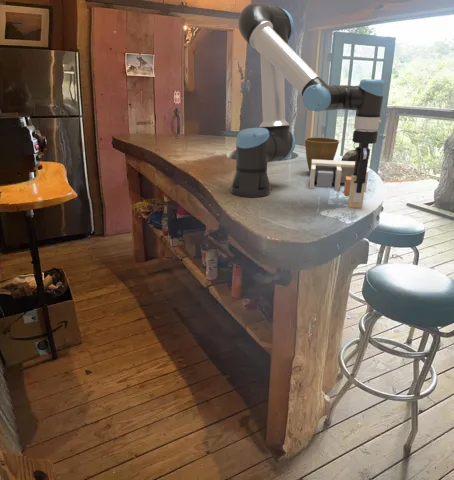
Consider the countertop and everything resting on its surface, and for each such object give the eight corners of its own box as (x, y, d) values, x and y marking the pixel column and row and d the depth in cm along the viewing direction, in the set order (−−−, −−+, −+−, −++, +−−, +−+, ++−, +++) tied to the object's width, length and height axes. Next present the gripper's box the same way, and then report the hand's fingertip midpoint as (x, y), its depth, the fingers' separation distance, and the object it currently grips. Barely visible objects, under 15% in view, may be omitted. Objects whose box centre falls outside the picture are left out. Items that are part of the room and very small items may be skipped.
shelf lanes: (309, 188, 161) (311, 166, 158) (309, 179, 175) (311, 159, 172) (365, 192, 157) (369, 169, 154) (361, 183, 171) (364, 161, 168)
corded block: (346, 206, 139) (349, 177, 135) (343, 191, 158) (347, 166, 154) (364, 207, 137) (368, 179, 134) (359, 192, 157) (363, 166, 153)
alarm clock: (359, 175, 185) (364, 139, 179) (366, 178, 180) (371, 141, 174) (338, 176, 183) (342, 140, 177) (344, 179, 178) (349, 141, 172)
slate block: (316, 186, 164) (318, 172, 162) (316, 183, 170) (317, 169, 167) (331, 187, 163) (333, 173, 161) (331, 184, 169) (332, 170, 166)
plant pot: (295, 174, 185) (298, 139, 179) (313, 170, 195) (316, 136, 189) (324, 180, 175) (328, 142, 169) (340, 175, 185) (345, 139, 179)
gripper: (382, 133, 122) (370, 207, 130) (373, 127, 138) (364, 193, 147) (356, 132, 123) (346, 205, 132) (351, 127, 139) (342, 192, 148)
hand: (356, 199), depth 139 cm, fingers closed on corded block, 5 cm apart
